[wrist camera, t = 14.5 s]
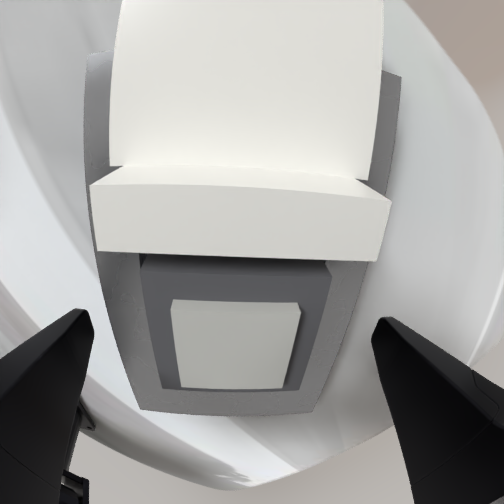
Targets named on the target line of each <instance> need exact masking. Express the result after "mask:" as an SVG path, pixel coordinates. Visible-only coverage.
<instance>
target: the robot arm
mask: <svg viewBox="0 0 504 504" xmlns="http://www.w3.org/2000/svg"><path fill="white" fill-rule="evenodd" d="M93 340H94V329H93V326H92V322H91V319H90V316H89V313H88V311H87V310H85V309H78V308H75V309H73V310H72V311H70V312H68V313H67V314H65V315H64V316H62V317H61V318H59V319H58V320H56V321H55V322H53V323H52V324H50V325H49V326H47V327H46V328H44V329H43V330H41V331H40V332H38V333H37V334H35V335H34V336H32V337H31V338H30V339H28V340H27V341H25V342H24V343H22V344H21V345H19V346H18V347H17V348H15V349H14V350H12V351H11V352H9V353H8V354H7V355H5V356H4V357H2V358H1V359H0V504H89V480H88V479H85V478H83V477H79V476H77V475H75V474H73V473H71V472H69V466H70V462H71V458H72V455H73V451H74V447H75V443H76V440H77V436H78V433H79V429H80V428H84V429H87V430H91V431H94V430H95V427H96V426H95V425H94V423H93V422H92V420H91V419H90V417H89V416H88V414H87V413H86V411H85V410H84V408H83V407H82V405H81V404H80V402H79V398H80V395H81V391H82V388H83V385H84V381H85V377H86V373H87V368H88V363H89V358H90V353H91V349H92V344H93ZM371 343H372V348H373V352H374V356H375V360H376V364H377V368H378V373H379V377H380V381H381V384H382V388H383V391H384V394H385V397H386V400H387V403H388V406H389V409H390V412H391V415H392V419H393V422H394V425H395V428H396V432H397V435H398V439H399V442H400V446H401V449H402V453H403V457H404V460H405V464H406V469H407V472H408V476H409V481H410V484H411V490H412V494H413V499H414V504H504V389H503V388H501V387H499V386H498V385H496V384H494V383H492V382H491V381H489V380H487V379H486V378H485V377H483V376H482V375H480V374H479V373H477V372H476V371H474V370H471V368H470V367H468V366H467V365H465V364H464V363H462V362H461V361H459V360H458V359H456V358H455V357H453V356H452V355H450V354H449V353H447V352H446V351H444V350H443V349H441V348H439V347H438V346H436V345H435V344H433V343H432V342H430V341H429V340H427V339H426V338H424V337H423V336H421V335H420V334H418V333H417V332H415V331H413V330H412V329H410V328H409V327H407V326H406V325H404V324H403V323H401V322H400V321H398V320H396V319H395V318H393V317H382V318H380V319H379V320H378V323H377V325H376V327H375V330H374V332H373V334H372V338H371ZM61 482H62V483H64V485H63V484H61Z"/></svg>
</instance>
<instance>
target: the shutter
mask: <svg viewBox="0 0 504 504" xmlns="http://www.w3.org/2000/svg"><path fill="white" fill-rule="evenodd" d="M382 54H383V0H123V1H122V5H121V11H120V16H119V22H118V28H117V34H116V41H115V49H114V57H113V67H112V78H111V93H110V116H109V158H110V166H122V167H121V168H119V169H117V170H115V171H113V172H112V173H110V174H108V175H106V176H105V177H103V178H101V179H99V180H98V181H96V182H94V183H93V184H91V185H90V197H91V207H92V216H93V224H94V231H95V238H96V245H97V251H108V252H132V253H155V254H180V255H205V256H231V257H258V258H286V259H315V260H346V261H377V258H378V254H379V251H380V247H381V243H382V240H383V236H384V232H385V228H386V224H387V220H388V216H389V212H390V208H391V203H392V201H390V200H389V199H387V198H386V197H384V196H383V195H381V194H379V193H378V192H376V191H375V190H373V189H371V188H370V187H368V186H366V185H365V184H363V183H361V182H360V181H358V180H356V179H361V180H368V176H369V170H370V164H371V158H372V151H373V145H374V138H375V130H376V123H377V114H378V105H379V95H380V84H381V71H382Z"/></svg>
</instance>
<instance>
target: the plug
mask: <svg viewBox="0 0 504 504" xmlns="http://www.w3.org/2000/svg"><path fill="white" fill-rule="evenodd" d="M140 278H141V285H142V292H143V298H144V305H145V310H146V316H147V322H148V327H149V332H150V337H151V342H152V347H153V352H154V356H155V361H156V365H157V370H158V374H159V378H160V382H161V386H162V389H172V390H185V391H202V392H279V391H296V390H299V389H300V386H301V383H302V380H303V377H304V374H305V371H306V368H307V365H308V362H309V359H310V355H311V352H312V349H313V346H314V343H315V339H316V336H317V333H318V329H319V326H320V322H321V319H322V315H323V312H324V308H325V304H326V301H327V297H328V293H329V289H330V285H331V281H332V278H333V277H332V275H331V273H330V272H329V270H328V268H327V267H326V265H325V263H324V261H323V260H315V259H286V258H258V257H231V256H205V255H180V254H155V253H148V255H147V257H146V259H145V261H144V263H143V265H142V267H141V269H140Z"/></svg>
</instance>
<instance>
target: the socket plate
mask: <svg viewBox="0 0 504 504" xmlns="http://www.w3.org/2000/svg"><path fill="white" fill-rule="evenodd" d="M113 57H114V50H108V51H103V52H97V53H92V54H88V60H87V69H86V81H85V97H84V163H85V179H86V191H87V202H88V211H89V219H90V226H91V233H92V240H93V246H94V252H95V258H96V263H97V268H98V273H99V278H100V283H101V287H102V292H103V296H104V300H105V304H106V308H107V312H108V316H109V320H110V323H111V327H112V330H113V334H114V337H115V340H116V344H117V347H118V350H119V353H120V356H121V359H122V362H123V365H124V368H125V371H126V374H127V377H128V380H129V382H130V385H131V388H132V390H133V393H134V395H135V398H136V400H137V403H138V405H139V408H140V409H141V410H149V411H157V412H166V413H177V414H190V415H210V416H264V415H283V414H297V413H308V412H312V411H313V409H314V407H315V404H316V402H317V400H318V398H319V396H320V393H321V391H322V389H323V387H324V384H325V382H326V380H327V377H328V375H329V373H330V370H331V368H332V365H333V363H334V361H335V358H336V356H337V353H338V350H339V348H340V345H341V343H342V340H343V337H344V335H345V332H346V329H347V326H348V324H349V321H350V318H351V315H352V312H353V309H354V306H355V303H356V300H357V297H358V294H359V291H360V288H361V285H362V282H363V278H364V275H365V272H366V268H367V265H368V261H346V260H323V261H324V263H325V265H326V267H327V268H328V270H329V272H330V273H331V275H332V277H333V278H332V281H331V285H330V289H329V293H328V297H327V301H326V304H325V308H324V312H323V315H322V319H321V322H320V326H319V329H318V333H317V336H316V339H315V343H314V346H313V349H312V352H311V355H310V359H309V362H308V365H307V368H306V371H305V374H304V377H303V380H302V383H301V386H300V389H299V390H296V391H279V392H202V391H185V390H172V389H162V386H161V382H160V378H159V374H158V370H157V365H156V361H155V356H154V352H153V347H152V342H151V337H150V332H149V327H148V322H147V316H146V310H145V305H144V298H143V292H142V285H141V278H140V269H141V267H142V265H143V263H144V261H145V259H146V257H147V255H148V253H132V252H108V251H97V245H96V238H95V231H94V224H93V216H92V207H91V197H90V185H91V184H93V183H94V182H96V181H98V180H99V179H101V178H103V177H105V176H106V175H108V174H110V173H112V172H113V171H115V170H117V169H119V168H121V167H122V166H110V158H109V116H110V93H111V78H112V67H113ZM400 90H401V77H399V76H397V75H394V74H391V73H388V72H385V71H381V84H380V95H379V105H378V114H377V123H376V130H375V138H374V145H373V151H372V158H371V164H370V170H369V176H368V180H361V179H356V180H358V181H360V182H361V183H363V184H365V185H366V186H368V187H370V188H371V189H373V190H375V191H376V192H378V193H379V194H381V195H383V196H384V197H385V192H386V187H387V182H388V177H389V172H390V166H391V160H392V154H393V148H394V141H395V134H396V127H397V119H398V110H399V101H400Z"/></svg>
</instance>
